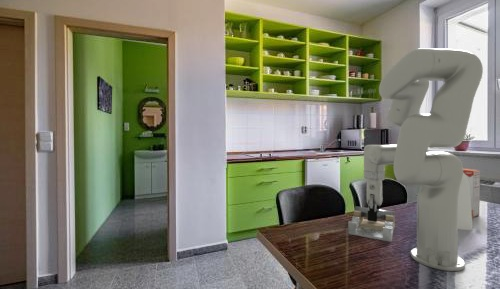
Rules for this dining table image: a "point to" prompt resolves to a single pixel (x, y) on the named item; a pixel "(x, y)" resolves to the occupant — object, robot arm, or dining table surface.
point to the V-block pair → (371, 230)
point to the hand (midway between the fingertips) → (373, 217)
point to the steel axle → (380, 213)
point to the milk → (464, 205)
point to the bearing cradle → (374, 225)
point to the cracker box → (474, 189)
